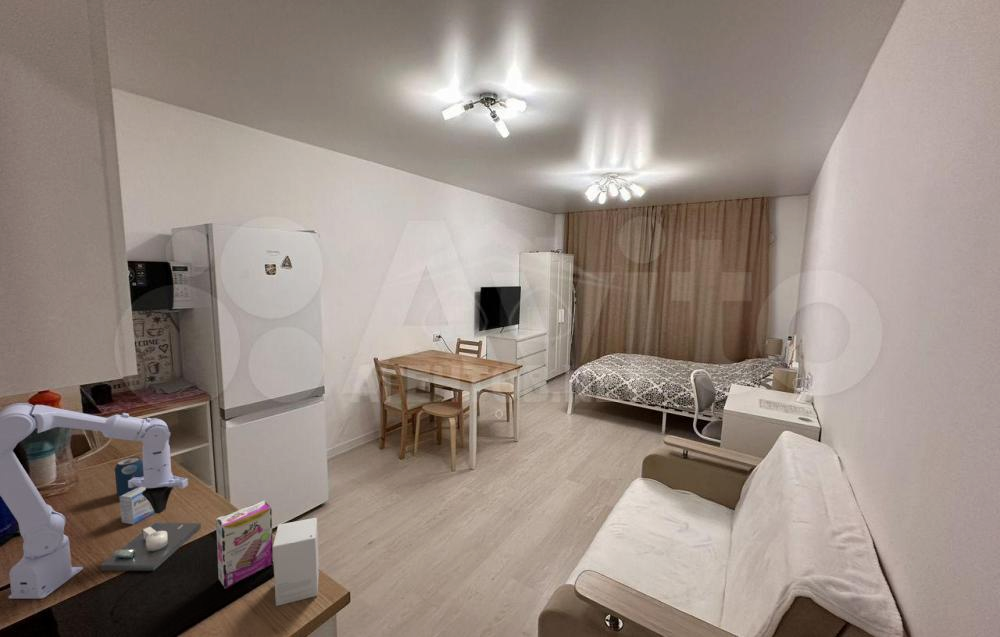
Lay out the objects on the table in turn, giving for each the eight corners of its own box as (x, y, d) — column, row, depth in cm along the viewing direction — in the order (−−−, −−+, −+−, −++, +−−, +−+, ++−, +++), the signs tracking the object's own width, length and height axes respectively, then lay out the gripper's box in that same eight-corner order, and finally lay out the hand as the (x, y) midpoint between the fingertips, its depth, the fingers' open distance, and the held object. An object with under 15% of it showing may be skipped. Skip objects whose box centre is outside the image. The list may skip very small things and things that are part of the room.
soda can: (139, 498, 134) (137, 463, 132) (113, 501, 131) (109, 466, 130) (148, 487, 140) (146, 454, 139) (123, 490, 138) (120, 457, 136)
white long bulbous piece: (170, 543, 110) (170, 534, 110) (150, 553, 106) (149, 543, 106) (155, 532, 115) (155, 522, 114) (136, 540, 111) (135, 531, 111)
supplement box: (319, 570, 104) (318, 516, 103) (317, 596, 96) (316, 538, 94) (280, 579, 101) (277, 523, 99) (274, 607, 93) (271, 546, 91)
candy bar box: (225, 590, 97) (221, 527, 95) (218, 580, 100) (214, 518, 98) (274, 565, 106) (272, 506, 104) (266, 556, 109) (264, 499, 107)
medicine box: (133, 525, 120) (130, 497, 119) (121, 523, 121) (118, 495, 120) (160, 510, 128) (158, 484, 127) (148, 508, 129) (146, 482, 128)
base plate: (153, 570, 103) (152, 558, 102) (100, 570, 102) (99, 558, 102) (200, 528, 120) (200, 517, 119) (155, 527, 119) (154, 517, 119)
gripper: (194, 458, 115) (197, 503, 116) (142, 457, 114) (145, 502, 116) (175, 470, 108) (178, 518, 109) (119, 469, 107) (123, 517, 109)
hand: (160, 511), depth 112 cm, fingers closed
